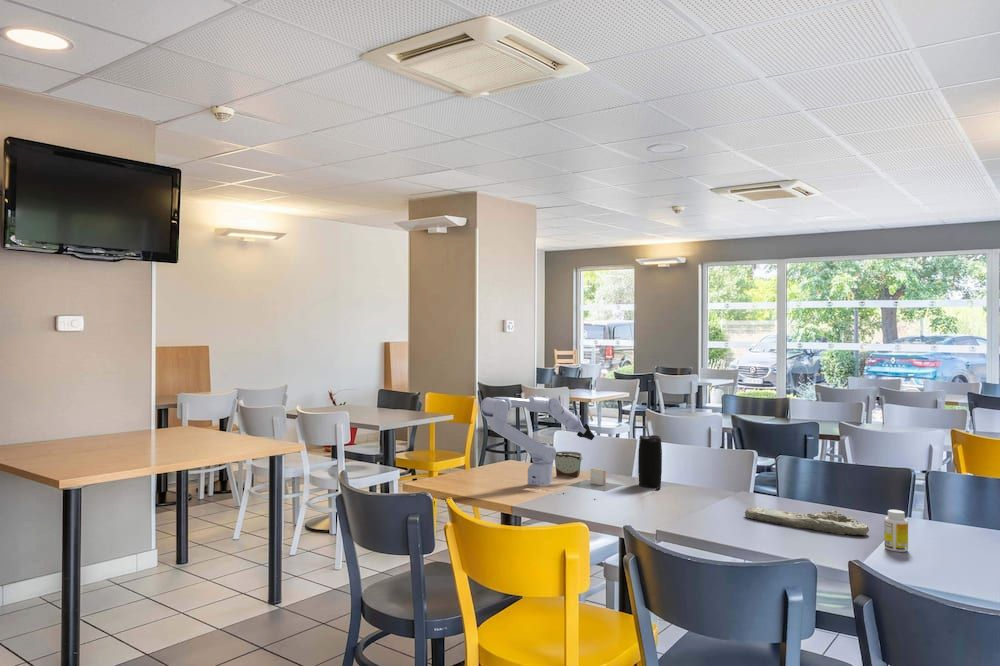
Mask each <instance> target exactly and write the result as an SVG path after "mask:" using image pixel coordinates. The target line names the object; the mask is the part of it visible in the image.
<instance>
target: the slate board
mask: <svg viewBox="0 0 1000 666" xmlns="http://www.w3.org/2000/svg"><path fill="white" fill-rule="evenodd" d="M567 486H568V487H574V488H581V489H586V490H587V489H588V490H594V491H600V492H608V491H611V490H615V489H616V488H619V487H623V486H624V484H618V483H613V482H610V483H609V482H606V485H604V486H602V485H596V484H591V479H584V480H580V481H577V482H573V483H570V484H567V485H566V487H567Z"/></svg>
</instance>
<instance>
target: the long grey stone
mask: <svg viewBox="0 0 1000 666" xmlns="http://www.w3.org/2000/svg"><path fill="white" fill-rule="evenodd" d="M744 516H746V517H748V518H751V519H750V520H757V521H761V522H766V523H770V522H771V524H774V523H775V524H774V525H781V524H783V526H785V525H787V526H786V527H791V526H792V528H796V527H797V528H798V529H808V530H810V529H811V530H814V531H817V532H823V533H832V534H835V533H837V534H836V535H841V534H843V535H842V536H844V535H853V536H855V535H858V536H860V535H862V536H865V535H867V534H868V533H869V531H870V529H869V526H868V525H867V524H866V523H863V522H861V521H858V520H857V519H855V518H854V517H851V516H845V514H844V513H838V511H837V510H828V511H827V510H826V511H822V512H813V513H799V512H794V511H793V512H792V511H783V510H776V509H772V508H771V509H770V508H769V509H767V508H764V507H757V506H755V507H749V508H746V510H745V511H744ZM746 517H745V518H746ZM748 518H747V519H748ZM797 528H796V529H797Z"/></svg>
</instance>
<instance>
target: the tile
mask: <svg viewBox="0 0 1000 666" xmlns="http://www.w3.org/2000/svg"><path fill="white" fill-rule="evenodd" d="M606 473H607V472H606V470H605V469H599V468H591V469H590V480H591V484H596V485H602V486H604V485H606V483H607V482H606V481H607V479H606V478H607V476H606Z"/></svg>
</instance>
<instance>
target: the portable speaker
mask: <svg viewBox="0 0 1000 666" xmlns="http://www.w3.org/2000/svg"><path fill="white" fill-rule="evenodd" d="M638 438H639V443H638V456H637V457H638V463H637V464H638V465H637V466H638V469H637V471H638V475H637V476H638V486H639V487H641V488H647V489H654V490H655V491H656V490H657V492H659V491H661V486H662V474H663V473H662V471H663V470H662V468H663V464H662V463H663V450H662V449H663V448H662V447H663V446H662V439H661V436H660V435H656V434H655V435H653V434H652V435H645V436H644V435H639V437H638Z"/></svg>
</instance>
